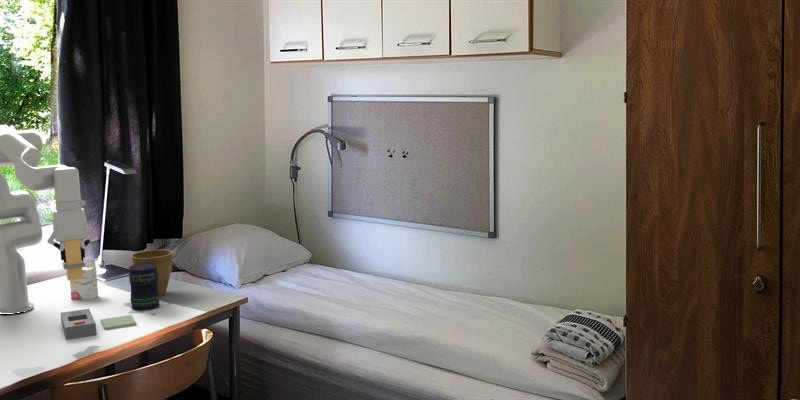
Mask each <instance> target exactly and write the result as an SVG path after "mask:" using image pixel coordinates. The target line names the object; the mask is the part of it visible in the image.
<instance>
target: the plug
mask: <svg viewBox="0 0 800 400" xmlns="http://www.w3.org/2000/svg"><path fill="white" fill-rule="evenodd" d="M80 246H81V245H80V239H79V240H70V241H65V245H64V249H65V253H66V263H64V261H62V262H61V264H62V267H63V269H64V270H66V271H65V272H66V278H67V281H69V282H70V280H77V279H83V273H82V267H85V263H86V261H84V260H83V261H81V249H80Z"/></svg>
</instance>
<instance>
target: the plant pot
mask: <svg viewBox="0 0 800 400" xmlns="http://www.w3.org/2000/svg"><path fill="white" fill-rule="evenodd" d="M173 254H174V253H173V251H172V250H170V249H149V250H142V251H138V252H134V253H132V254H131V255H130V257H131V261H132V265H136V264H143V263H152V264H156V265H157V272H158V281H157V285H158V291H159V297H162V296H164V295H166V292H167V289H168V285H169V281H170V277H171V272H172V266H173V265H172V264H173Z"/></svg>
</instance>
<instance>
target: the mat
mask: <svg viewBox="0 0 800 400" xmlns="http://www.w3.org/2000/svg"><path fill="white" fill-rule="evenodd" d="M100 323H101V325H102V327H103V330H105V331H107V330H113V329H119V328H124V327H125V328H126V327H132V326H137V322H136V321H135V318H134V317H133V315H132V314H127V315H122V316H115V317H114V316H113V317H108V318H107V317H106V318H101V319H100Z"/></svg>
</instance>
